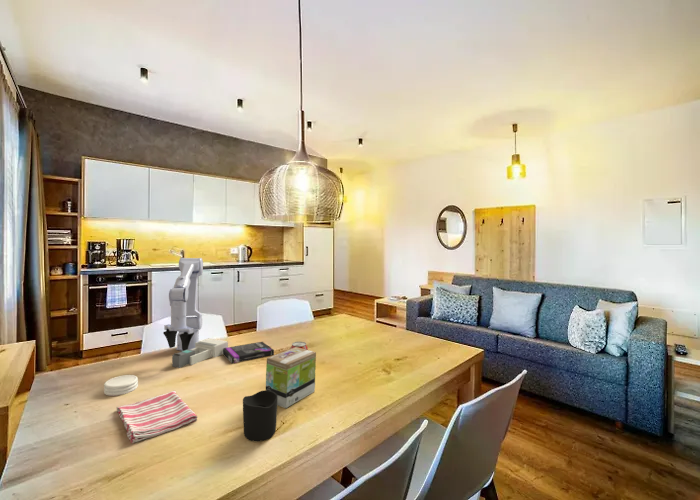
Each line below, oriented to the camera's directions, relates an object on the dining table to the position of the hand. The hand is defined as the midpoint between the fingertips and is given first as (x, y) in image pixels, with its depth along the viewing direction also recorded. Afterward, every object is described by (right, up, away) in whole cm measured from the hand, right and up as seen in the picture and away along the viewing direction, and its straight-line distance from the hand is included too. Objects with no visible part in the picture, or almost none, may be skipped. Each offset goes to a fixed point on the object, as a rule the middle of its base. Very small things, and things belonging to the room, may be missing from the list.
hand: (178, 348), depth 139 cm
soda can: (+51, -9, -4) cm, 52 cm away
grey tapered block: (+1, -8, +3) cm, 8 cm away
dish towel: (+13, -10, -38) cm, 42 cm away
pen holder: (+47, -10, -46) cm, 66 cm away
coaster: (-9, -9, -21) cm, 25 cm away
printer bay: (+5, -7, +12) cm, 15 cm away
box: (+25, -8, +15) cm, 30 cm away
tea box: (+51, -10, -24) cm, 57 cm away
